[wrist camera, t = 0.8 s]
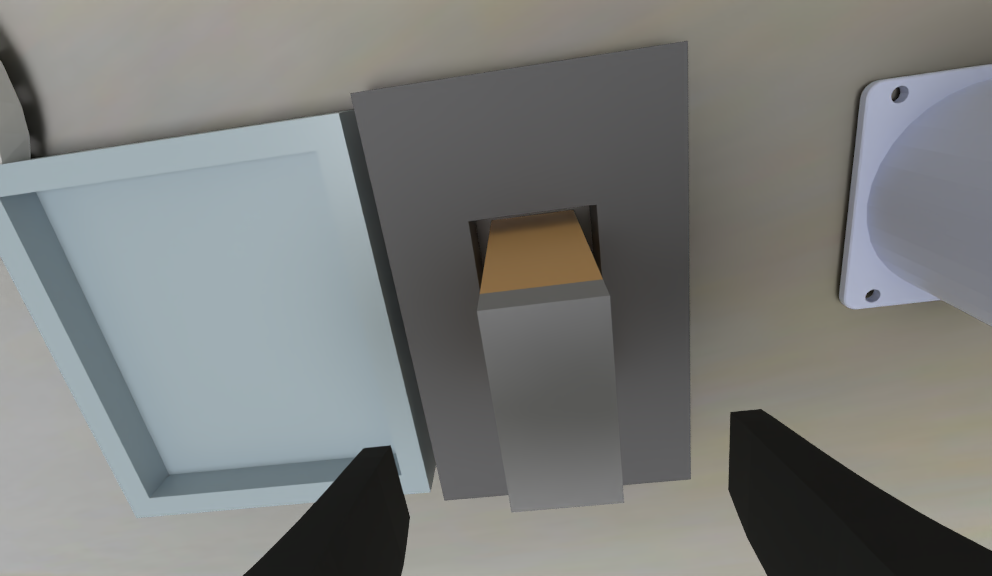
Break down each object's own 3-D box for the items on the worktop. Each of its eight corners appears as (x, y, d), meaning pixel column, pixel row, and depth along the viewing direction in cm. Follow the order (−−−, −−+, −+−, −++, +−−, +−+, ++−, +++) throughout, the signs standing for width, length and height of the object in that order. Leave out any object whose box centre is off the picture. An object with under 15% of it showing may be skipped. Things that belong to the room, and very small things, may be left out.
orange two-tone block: (573, 209, 19) (609, 295, 12) (586, 353, 21) (623, 503, 14) (491, 220, 19) (476, 311, 12) (512, 361, 22) (511, 512, 14)
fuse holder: (668, 44, 17) (687, 40, 15) (676, 446, 23) (690, 479, 21) (367, 91, 18) (350, 93, 16) (449, 467, 24) (444, 500, 22)
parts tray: (356, 108, 18) (338, 112, 16) (437, 459, 24) (430, 492, 22) (10, 161, 19) (-44, 171, 17) (165, 484, 25) (136, 517, 23)
